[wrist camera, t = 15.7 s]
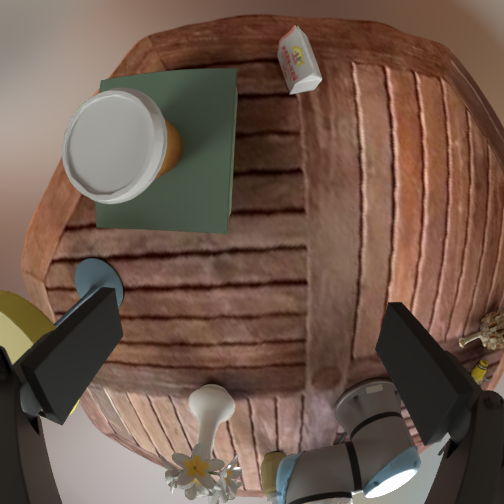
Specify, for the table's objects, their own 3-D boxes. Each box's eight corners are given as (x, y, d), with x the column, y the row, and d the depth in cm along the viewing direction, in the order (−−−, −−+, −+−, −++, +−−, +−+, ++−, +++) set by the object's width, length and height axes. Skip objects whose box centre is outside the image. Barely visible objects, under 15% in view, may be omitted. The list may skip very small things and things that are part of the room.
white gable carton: (300, 50, 34) (311, 22, 24) (314, 89, 36) (330, 70, 26) (276, 55, 34) (281, 26, 25) (289, 94, 36) (299, 75, 26)
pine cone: (511, 292, 45) (536, 310, 35) (503, 325, 48) (525, 345, 38) (448, 317, 47) (473, 343, 37) (441, 353, 50) (461, 380, 40)
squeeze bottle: (259, 462, 62) (259, 516, 45) (261, 449, 60) (260, 507, 42) (289, 462, 62) (292, 515, 45) (292, 449, 59) (297, 506, 42)
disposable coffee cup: (110, 130, 29) (47, 123, 17) (181, 94, 27) (140, 62, 16) (135, 201, 31) (79, 224, 20) (209, 170, 30) (179, 177, 19)
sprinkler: (509, 371, 44) (471, 426, 49) (495, 356, 51) (462, 410, 57) (467, 374, 44) (426, 434, 50) (453, 356, 52) (417, 415, 57)
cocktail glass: (48, 257, 45) (-42, 316, 21) (112, 221, 42) (3, 282, 19) (90, 335, 50) (27, 418, 26) (159, 316, 47) (100, 423, 24)
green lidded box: (234, 217, 42) (227, 233, 32) (128, 212, 42) (96, 227, 32) (241, 89, 36) (236, 68, 26) (132, 94, 36) (100, 80, 26)
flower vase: (208, 424, 57) (192, 516, 33) (168, 369, 51) (129, 473, 28) (261, 415, 55) (261, 514, 31) (228, 356, 50) (211, 475, 26)
